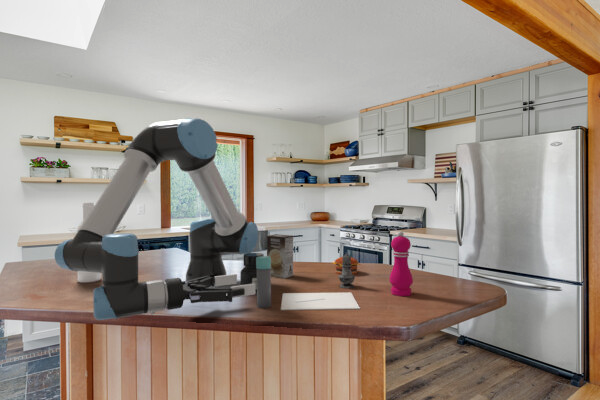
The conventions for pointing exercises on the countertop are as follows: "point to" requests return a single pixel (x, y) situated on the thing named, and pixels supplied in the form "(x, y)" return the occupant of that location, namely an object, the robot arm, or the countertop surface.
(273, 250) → the coffee box
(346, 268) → the chess piece
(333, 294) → the paper
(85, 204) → the bottle
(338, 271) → the hamburger
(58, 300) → the countertop surface
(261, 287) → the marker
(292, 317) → the countertop surface
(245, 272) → the ink bottle
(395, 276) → the pepper mill
